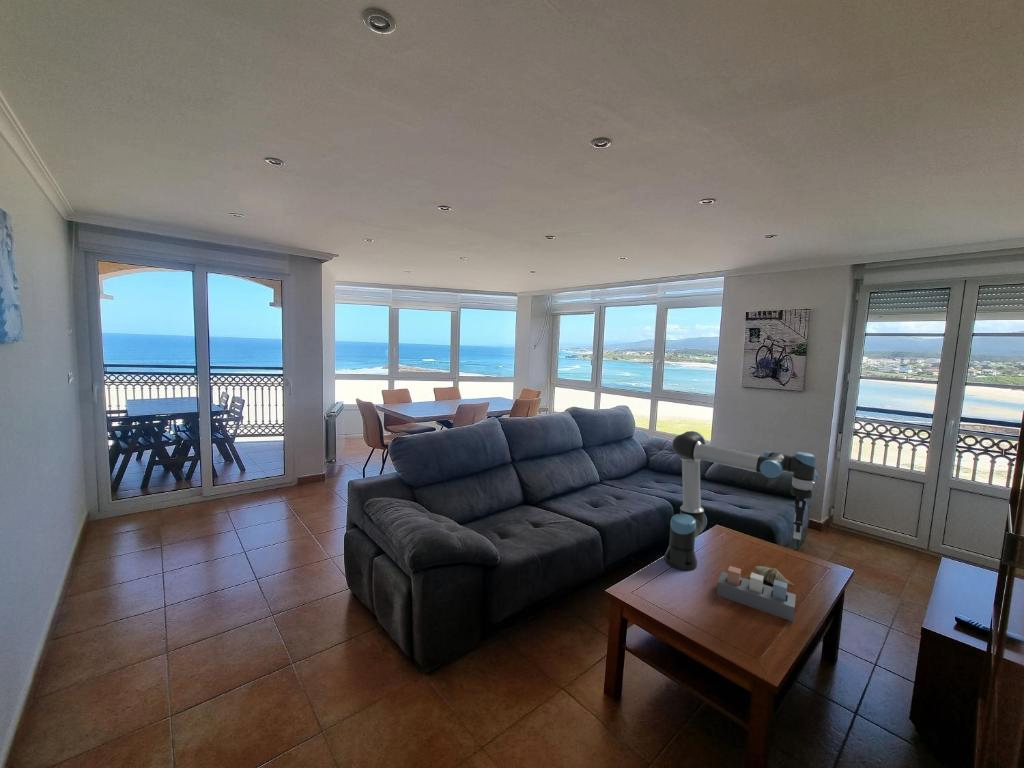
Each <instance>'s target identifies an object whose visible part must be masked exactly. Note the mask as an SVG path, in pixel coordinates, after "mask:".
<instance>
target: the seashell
mask: <svg viewBox="0 0 1024 768" xmlns="http://www.w3.org/2000/svg"><path fill="white" fill-rule="evenodd" d="M755 574H759V575H762V576H764V579H763V584H764V585H767V584H771V585H772V586H773V585H774V579H775V580H778V581H781V582H785V583H787V587H788V586H790V587H795V584H794V583H793V582H791V581H790V580H788V579H786V577H785V576H784V575H783V574H782V573H781V572H780V571H779V570H778V569H777V568H776V567H768V566H764V565H760V566H758V565H756V566H755Z"/></svg>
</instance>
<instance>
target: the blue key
mask: <svg viewBox="0 0 1024 768" xmlns="http://www.w3.org/2000/svg"><path fill="white" fill-rule="evenodd" d="M772 587H773V596H772V597H774V598H777V599H780V600H783V601H786V593H787V592H788V591H787V590H788V586H787V583H785V582H781V581H778V580H775V579H774V585H772Z"/></svg>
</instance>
